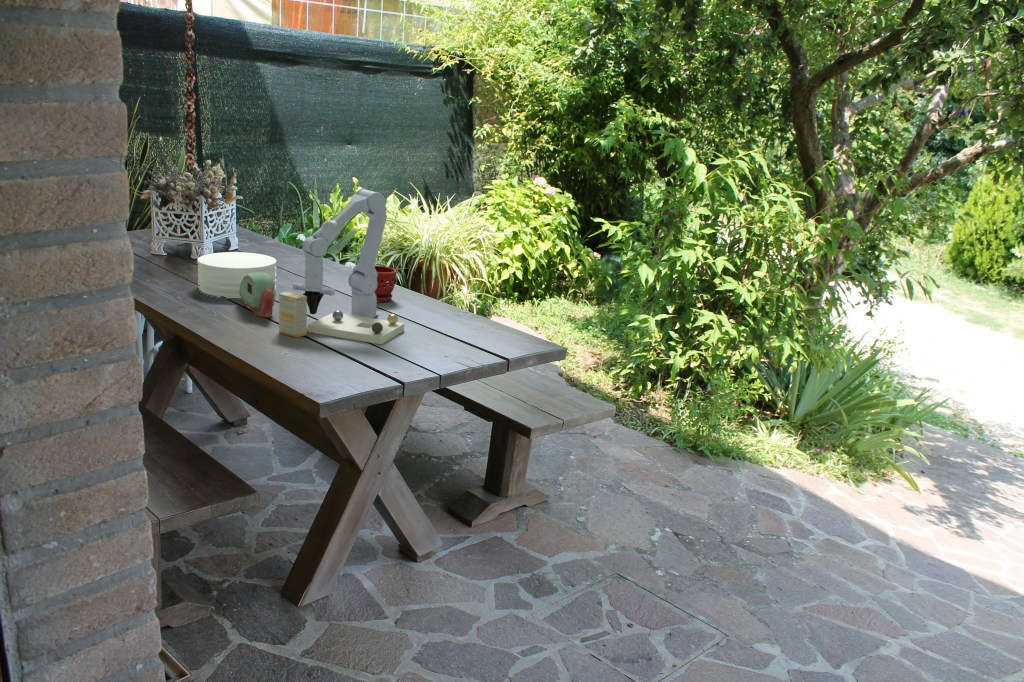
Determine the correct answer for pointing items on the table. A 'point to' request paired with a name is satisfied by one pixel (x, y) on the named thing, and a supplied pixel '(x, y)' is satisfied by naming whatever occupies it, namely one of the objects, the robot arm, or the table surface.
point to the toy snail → (258, 293)
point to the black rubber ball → (377, 327)
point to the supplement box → (293, 314)
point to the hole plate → (355, 328)
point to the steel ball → (337, 315)
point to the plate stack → (231, 271)
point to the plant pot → (385, 283)
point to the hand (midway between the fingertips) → (313, 313)
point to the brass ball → (392, 319)
